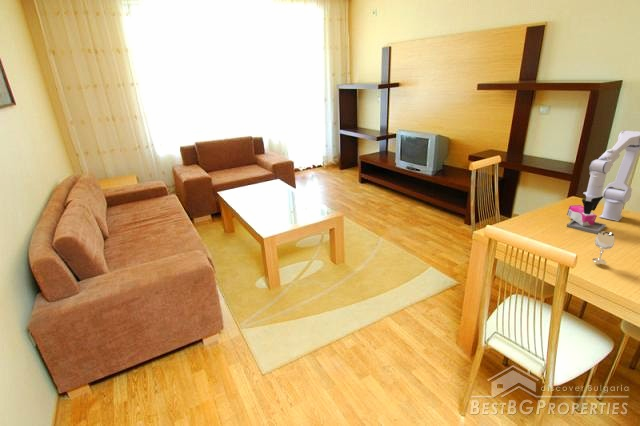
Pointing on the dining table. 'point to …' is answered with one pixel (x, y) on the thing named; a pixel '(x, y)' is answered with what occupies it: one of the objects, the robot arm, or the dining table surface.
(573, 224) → the tray
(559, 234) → the dining table surface
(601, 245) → the wineglass
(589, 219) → the supplement box
